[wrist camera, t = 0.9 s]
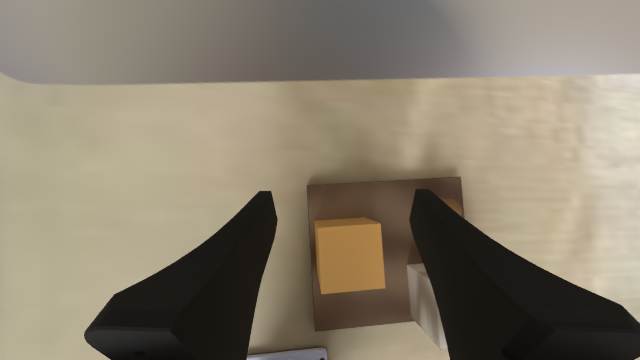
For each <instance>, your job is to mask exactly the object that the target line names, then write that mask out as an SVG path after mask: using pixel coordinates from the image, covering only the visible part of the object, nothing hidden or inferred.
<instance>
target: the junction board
mask: <svg viewBox="0 0 640 360" xmlns="http://www.w3.org/2000/svg"><path fill="white" fill-rule="evenodd" d="M416 189H429V190H431V191H432V192H433V193H434V194H435V195H437V196H438V197H439V198H440V199H441V200H442V201H444V202H445V203H446V204H447V205H448V206H449V207H451V208H452V209H453V210H454V211H455V212H457V213H458V214H459V215H460V216H461V217H463V218H464V210H463V199H462V188H461V178H460V177H449V178H431V179H413V180H396V181H378V182H361V183H343V184H325V185H308V186H307V195H308V212H309V230H310V248H311V265H312V283H313V301H314V319H315V331H325V330H334V329H344V328H353V327H363V326H372V325H382V324H391V323H401V322H410V321H416V323H417V324H418V325H419V326H420V327H421V328H422V329H423V330H424V332H425V333H426V334H427V335H428V336H429V337H430V338H431V339H432V341H433V342H434V343H435V344H436V345H437V346H438V347H439V348H440V349H447V348H448V347H447V343H446V339H445V334H444V330H443V326H442V322H441V318H440V314H439V310H438V307H437V303H436V299H435V296H434V292H433V289H432V286H431V283H430V280H429V277H428V275H427V272H426V269H425V267H424V264H423V262H422V259H421V257H420V254H419V251H418V249H417V246H416V244H415V241H414V238H413V234H412V230H411V226H410V222H409V218H410V213H411V208H412V204H413V199H414V195H415V190H416ZM361 217H365V218H367V219H370V220H373V221H375V222H378V223H381V235H382V248H383V262H384V276H385V288H383V289H372V290H361V291H351V292H340V293H329V294H321V289H320V284H319V279H318V274H317V259H316V242H315V224H314V221H318V220H332V219H347V218H361Z"/></svg>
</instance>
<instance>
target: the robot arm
mask: <svg viewBox="0 0 640 360" xmlns="http://www.w3.org/2000/svg"><path fill="white" fill-rule="evenodd" d="M409 222H410V226H411V230H412V234H413V238H414V241H415V244H416V246H417V249H418V251H419V254H420V257H421V259H422V262H423V264H424V267H425V269H426V272H427V275H428V277H429V280H430V283H431V286H432V289H433V292H434V296H435V299H436V303H437V307H438V310H439V314H440V318H441V322H442V326H443V330H444V334H445V339H446V343H447V347H448V352H449V356H450V360H634V359H636V358H638V357H640V323H639V322H638V321H637V320H636V319H635V318H634V317H633V316H632V315H631V314H630V313H629V312H628V311H627V310H626V309H625V308H624V307H623V306H622V305H620V304H618V303H615V302H613V301H611V300H609V299H606V298H604V297H602V296H599V295H597V294H595V293H592V292H590V291H588V290H586V289H583V288H581V287H579V286H577V285H574V284H572V283H570V282H568V281H566V280H564V279H562V278H560V277H558V276H556V275H554V274H552V273H550V272H548V271H546V270H544V269H542V268H540V267H538V266H537V265H535V264H533V263H531V262H529V261H528V260H526V259H524V258H522V257H520V256H519V255H517V254H515V253H514V252H512V251H510V250H509V249H507V248H505V247H504V246H502V245H501V244H499V243H498V242H496V241H494V240H493V239H491V238H490V237H488V236H487V235H485V234H484V233H483V232H481V231H480V230H479V229H477V228H476V227H474V226H473V225H472V224H470V223H469V222H468V221H467V220H465V219H464V218H463V217H461V216H460V215H459V214H458V213H457V212H455V211H454V210H453V209H452V208H451V207H449V206H448V205H447V204H446V203H445V202H444V201H442V200H441V199H440V198H439V197H438V196H437V195H435V194H434V193H433V192H432V191H431V190H429V189H416V190H415V195H414V199H413V204H412V208H411V213H410V218H409ZM276 226H277V216H276V211H275V206H274V202H273V197H272V193H271V191H259V192H258V193H257V194H256V195H255V196H254V197H253V198H252V199H251V200H250V201H249V202H248V203H247V204H246V205H245V206H244V207H243V208H242V209H241V210H240V211H239V212H238V213H237V214H236V215H235V216H234V217H233V218H232V219H231V220H230V221H229V222H228V223H227V224H225V225H224V226H223V227H222V228H221V229H220V230H219V231H218V232H216V233H215V234H214V235H213V236H211V237H210V238H209V239H208V240H206V241H205V242H204V243H202V244H201V245H200V246H198V247H197V248H195V249H194V250H192V251H191V252H189V253H188V254H186V255H185V256H183V257H182V258H180V259H179V260H177V261H176V262H174V263H173V264H171V265H169V266H168V267H166V268H164V269H162V270H161V271H159V272H157V273H155V274H154V275H152V276H150V277H148V278H146V279H144V280H142V281H140V282H138V283H136V284H134V285H132V286H130V287H128V288H127V289H125V290H123V291H121V292H118V293H116V294H114V296H113V297H112V298H111V299H110V300H109V302H108V303H107V304H106V306H105V307H104V308H103V309H102V311H101V312H100V313H99V314H98V316H97V317H96V318H95V319H94V321H93V322H92V323H91V324H90V326H89V327H88V328H87V329H86V331H85V334H84V337H85V340H86V341H87V343H88V344H89V345H91V346H92V347H93V348H95V349H96V350H98V351H99V352H100V353H102V354H103V355H105V356H106V357H108V358H109V359H111V360H320V358H324V360H327V352H326V349H325V348H312V349H303V350H294V351H285V352H276V353H267V354H258V355H249V356H247V353H248V347H249V341H250V335H251V329H252V323H253V318H254V312H255V307H256V302H257V297H258V292H259V287H260V283H261V280H262V276H263V273H264V270H265V267H266V263H267V260H268V257H269V254H270V251H271V247H272V244H273V241H274V237H275V232H276Z"/></svg>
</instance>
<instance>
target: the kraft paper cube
mask: <svg viewBox="0 0 640 360" xmlns="http://www.w3.org/2000/svg"><path fill="white" fill-rule="evenodd" d="M314 224H315V242H316V259H317V274H318V279H319V284H320V289H321V294H329V293H340V292H351V291H361V290H372V289H383V288H385V276H384V262H383V248H382V235H381V223H378V222H375V221H373V220H370V219H367V218H365V217H361V218H347V219H332V220H318V221H314Z"/></svg>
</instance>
